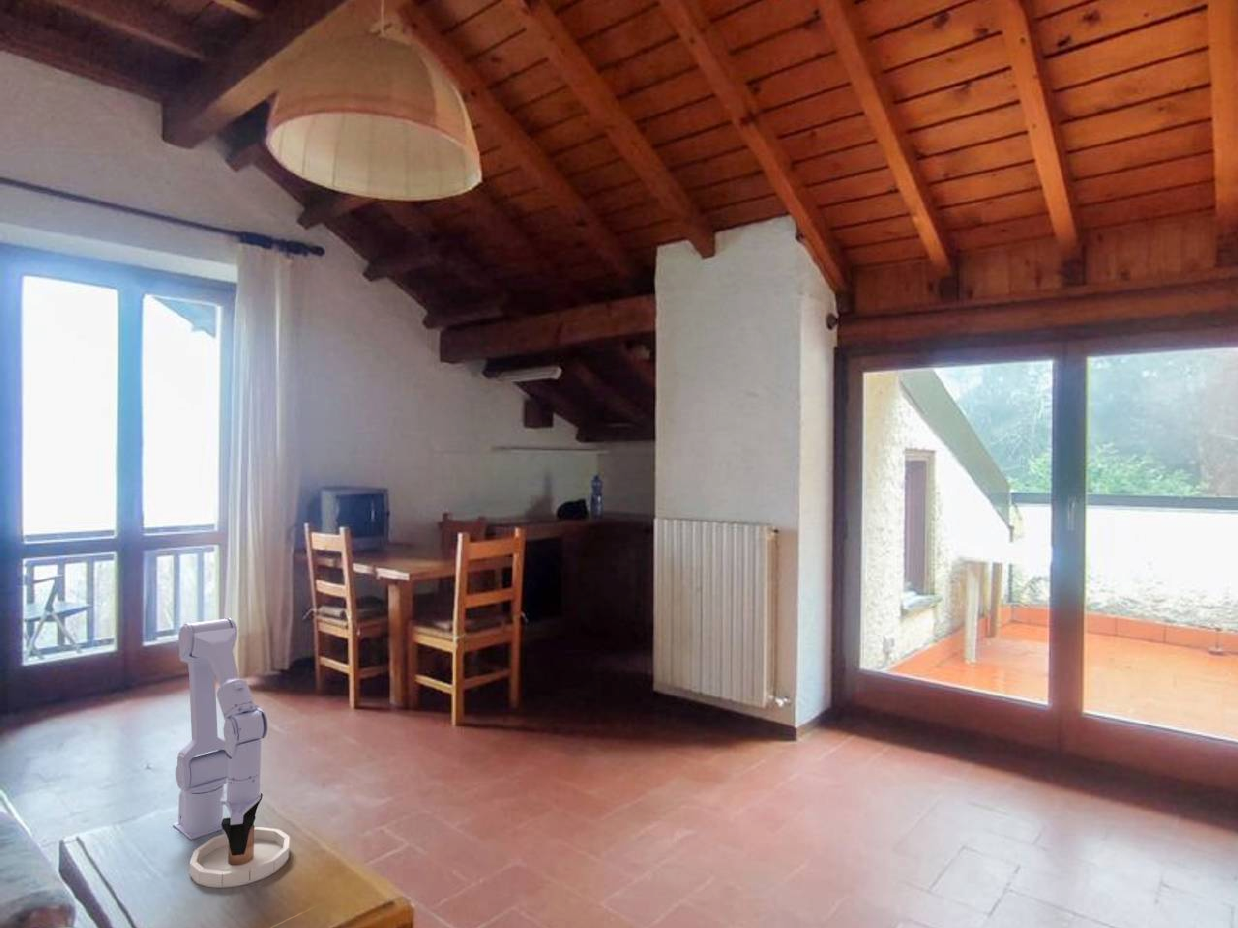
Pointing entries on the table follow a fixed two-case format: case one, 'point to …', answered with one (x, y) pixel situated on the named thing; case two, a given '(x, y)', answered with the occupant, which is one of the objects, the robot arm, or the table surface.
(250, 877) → the round tray
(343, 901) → the table surface
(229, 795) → the robot arm
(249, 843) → the brown rounded cylinder
